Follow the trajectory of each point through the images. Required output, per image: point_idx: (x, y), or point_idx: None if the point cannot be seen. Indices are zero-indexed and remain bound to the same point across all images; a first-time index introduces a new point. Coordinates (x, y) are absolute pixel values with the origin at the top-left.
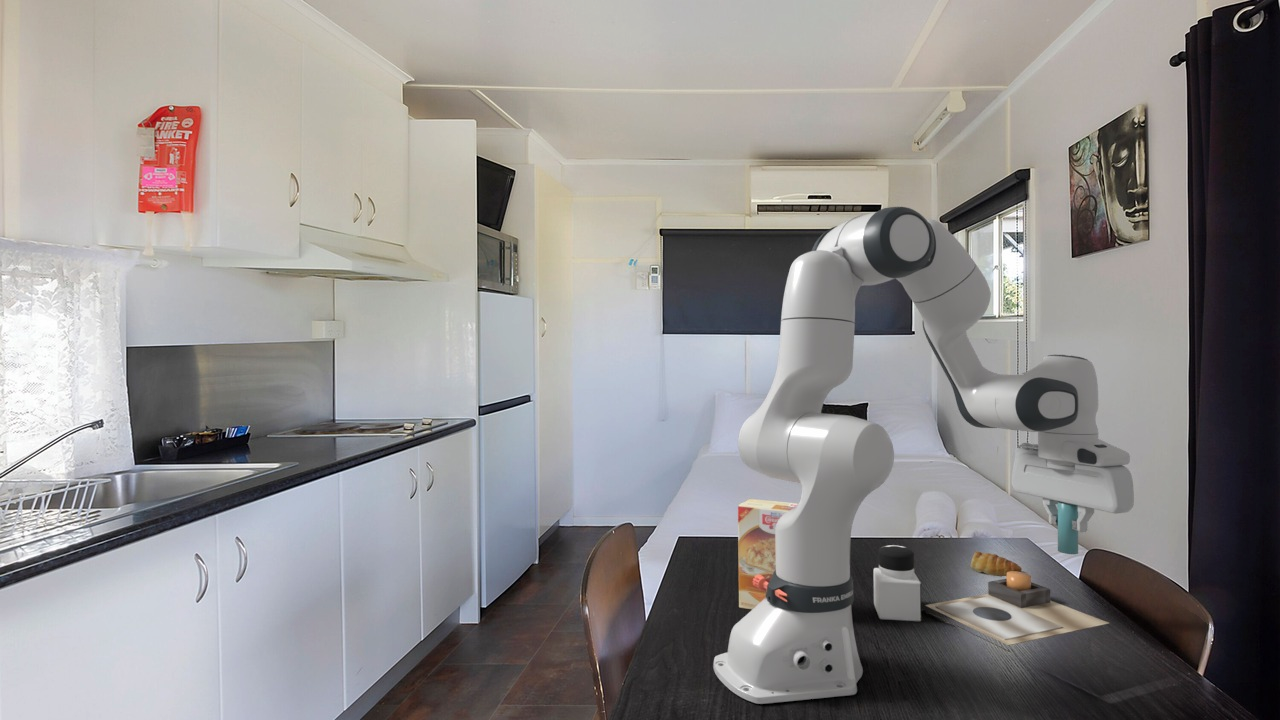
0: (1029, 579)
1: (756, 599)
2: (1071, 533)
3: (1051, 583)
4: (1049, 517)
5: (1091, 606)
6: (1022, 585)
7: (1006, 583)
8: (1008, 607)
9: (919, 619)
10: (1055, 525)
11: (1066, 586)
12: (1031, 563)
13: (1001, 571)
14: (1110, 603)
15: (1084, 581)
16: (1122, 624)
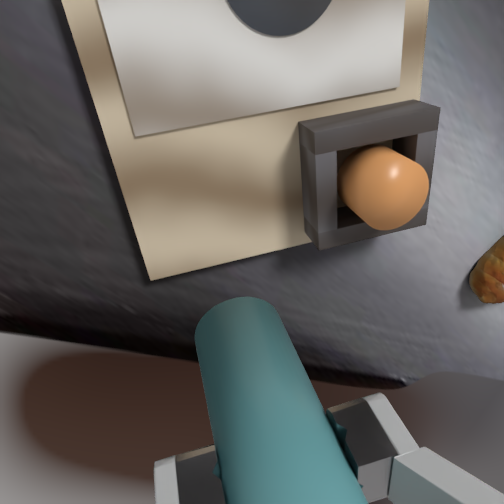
0: (358, 209)
1: None
2: (218, 416)
3: (408, 320)
4: (400, 430)
5: None
6: (353, 176)
7: None
8: (309, 78)
9: None
10: (339, 405)
11: (382, 337)
12: (499, 347)
13: (500, 252)
14: None
15: (386, 380)
16: (171, 314)
